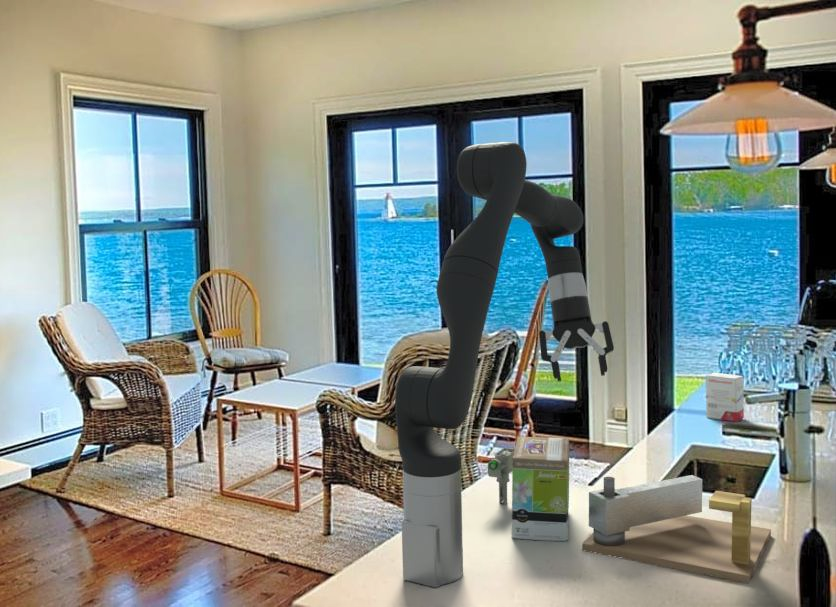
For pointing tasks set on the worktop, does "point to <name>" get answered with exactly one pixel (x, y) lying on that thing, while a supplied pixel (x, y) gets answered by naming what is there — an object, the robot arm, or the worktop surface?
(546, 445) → the tea box
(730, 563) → the latch board
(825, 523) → the worktop surface
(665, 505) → the link
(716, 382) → the ink box
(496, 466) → the mechanical component
